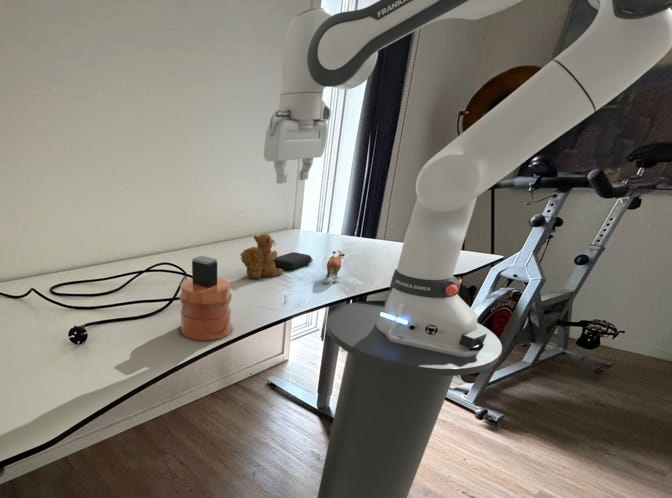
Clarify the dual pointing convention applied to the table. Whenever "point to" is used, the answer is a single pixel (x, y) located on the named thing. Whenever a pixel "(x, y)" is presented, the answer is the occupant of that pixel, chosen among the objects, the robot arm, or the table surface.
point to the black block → (204, 271)
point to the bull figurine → (334, 264)
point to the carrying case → (292, 260)
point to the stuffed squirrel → (261, 258)
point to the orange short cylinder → (205, 310)
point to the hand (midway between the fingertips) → (292, 181)
